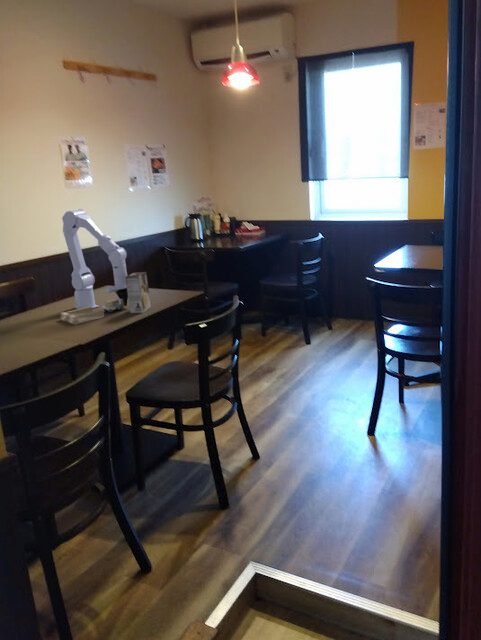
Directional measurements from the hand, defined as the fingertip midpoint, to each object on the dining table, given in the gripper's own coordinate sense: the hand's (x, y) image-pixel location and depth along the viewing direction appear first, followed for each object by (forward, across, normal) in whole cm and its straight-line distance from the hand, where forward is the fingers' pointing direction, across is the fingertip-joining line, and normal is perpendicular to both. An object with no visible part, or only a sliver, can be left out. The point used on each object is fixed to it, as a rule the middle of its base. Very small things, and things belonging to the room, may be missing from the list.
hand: (124, 305), depth 249 cm
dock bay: (+1, -19, 0) cm, 19 cm away
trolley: (+1, -6, 0) cm, 6 cm away
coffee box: (+1, +2, -10) cm, 10 cm away
